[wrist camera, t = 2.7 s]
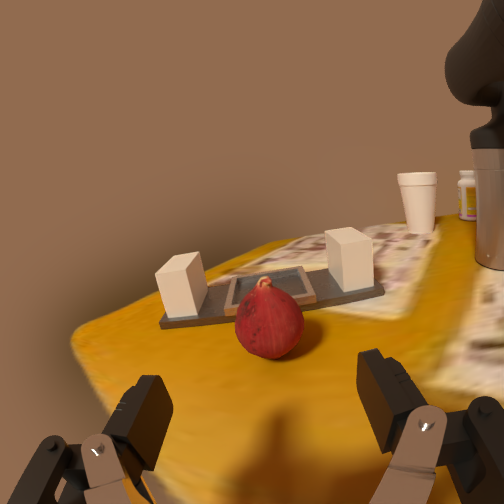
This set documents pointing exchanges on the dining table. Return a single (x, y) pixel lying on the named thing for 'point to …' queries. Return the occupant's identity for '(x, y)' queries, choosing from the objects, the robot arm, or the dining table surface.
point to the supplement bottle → (467, 196)
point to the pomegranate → (268, 321)
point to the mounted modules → (195, 286)
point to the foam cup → (419, 200)
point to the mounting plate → (289, 280)
